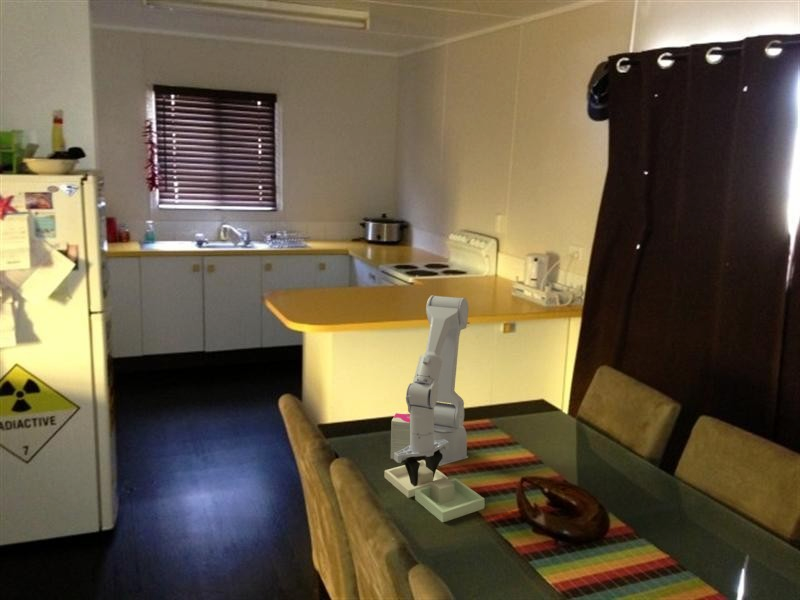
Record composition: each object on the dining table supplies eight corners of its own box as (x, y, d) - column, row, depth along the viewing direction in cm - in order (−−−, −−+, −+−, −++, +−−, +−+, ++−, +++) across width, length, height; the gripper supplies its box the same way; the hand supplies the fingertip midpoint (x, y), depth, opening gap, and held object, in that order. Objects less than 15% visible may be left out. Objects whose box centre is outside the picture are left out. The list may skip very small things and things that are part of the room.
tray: (423, 468, 178) (423, 459, 178) (448, 487, 169) (448, 478, 168) (384, 479, 173) (384, 470, 172) (408, 500, 163) (408, 490, 162)
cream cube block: (444, 492, 165) (444, 477, 164) (454, 499, 162) (454, 484, 161) (430, 497, 163) (430, 481, 162) (440, 504, 160) (440, 488, 159)
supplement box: (411, 463, 181) (411, 422, 179) (390, 461, 182) (389, 421, 180) (415, 453, 187) (416, 414, 184) (394, 451, 188) (394, 412, 185)
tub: (455, 488, 168) (455, 477, 167) (484, 510, 158) (484, 498, 157) (415, 501, 162) (415, 490, 162) (442, 524, 152) (442, 512, 152)
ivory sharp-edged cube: (424, 480, 171) (424, 465, 170) (433, 486, 168) (433, 472, 167) (410, 484, 169) (410, 469, 168) (419, 491, 166) (419, 476, 165)
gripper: (404, 443, 158) (404, 496, 161) (456, 429, 165) (455, 481, 168) (389, 432, 164) (389, 484, 167) (440, 419, 171) (439, 469, 174)
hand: (421, 481), depth 168 cm, fingers closed on ivory sharp-edged cube, 4 cm apart
